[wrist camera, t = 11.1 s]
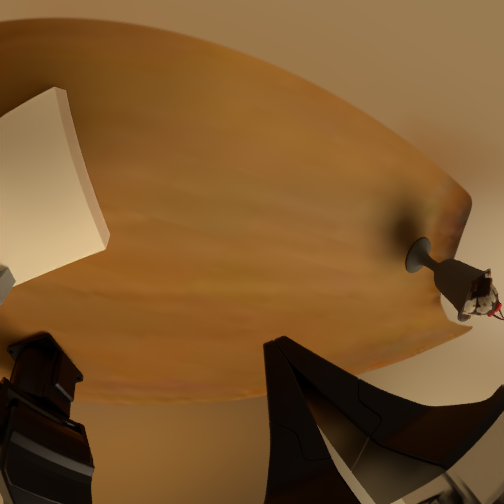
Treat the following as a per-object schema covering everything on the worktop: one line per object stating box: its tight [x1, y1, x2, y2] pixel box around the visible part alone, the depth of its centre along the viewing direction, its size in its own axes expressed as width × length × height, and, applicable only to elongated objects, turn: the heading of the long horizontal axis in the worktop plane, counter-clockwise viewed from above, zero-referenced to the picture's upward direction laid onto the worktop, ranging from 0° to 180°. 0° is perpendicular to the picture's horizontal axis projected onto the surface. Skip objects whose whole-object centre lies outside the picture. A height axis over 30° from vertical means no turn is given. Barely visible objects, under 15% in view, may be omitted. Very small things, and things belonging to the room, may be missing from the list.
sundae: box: [406, 238, 504, 322], centre depth 25 cm, size 7×7×15 cm
